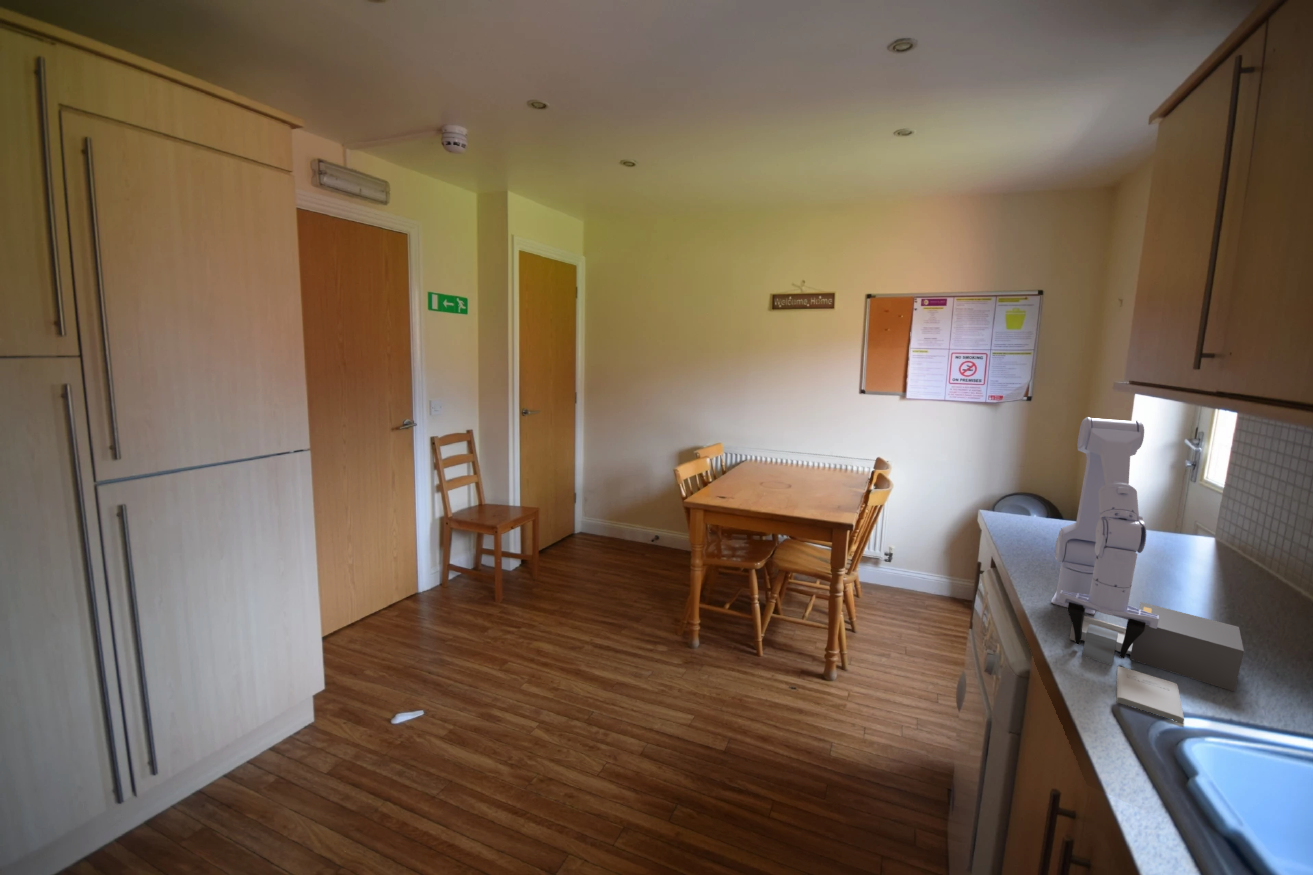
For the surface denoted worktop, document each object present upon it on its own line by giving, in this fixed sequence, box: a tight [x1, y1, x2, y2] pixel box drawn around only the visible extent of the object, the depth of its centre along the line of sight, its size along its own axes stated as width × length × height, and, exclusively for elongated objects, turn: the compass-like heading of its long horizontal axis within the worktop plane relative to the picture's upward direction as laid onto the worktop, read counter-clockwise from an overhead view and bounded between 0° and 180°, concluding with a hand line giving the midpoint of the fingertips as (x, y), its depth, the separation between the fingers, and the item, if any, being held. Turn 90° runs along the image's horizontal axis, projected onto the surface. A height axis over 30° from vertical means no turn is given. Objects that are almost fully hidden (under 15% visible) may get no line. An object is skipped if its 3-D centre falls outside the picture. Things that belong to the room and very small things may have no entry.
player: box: [1129, 601, 1245, 693], centre depth 106 cm, size 12×14×8 cm
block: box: [1082, 624, 1118, 666], centre depth 107 cm, size 4×4×5 cm
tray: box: [1069, 615, 1133, 656], centre depth 112 cm, size 12×14×4 cm
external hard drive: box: [1116, 666, 1185, 725], centre depth 96 cm, size 2×8×12 cm
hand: (1099, 648), depth 107 cm, fingers open, 6 cm apart
